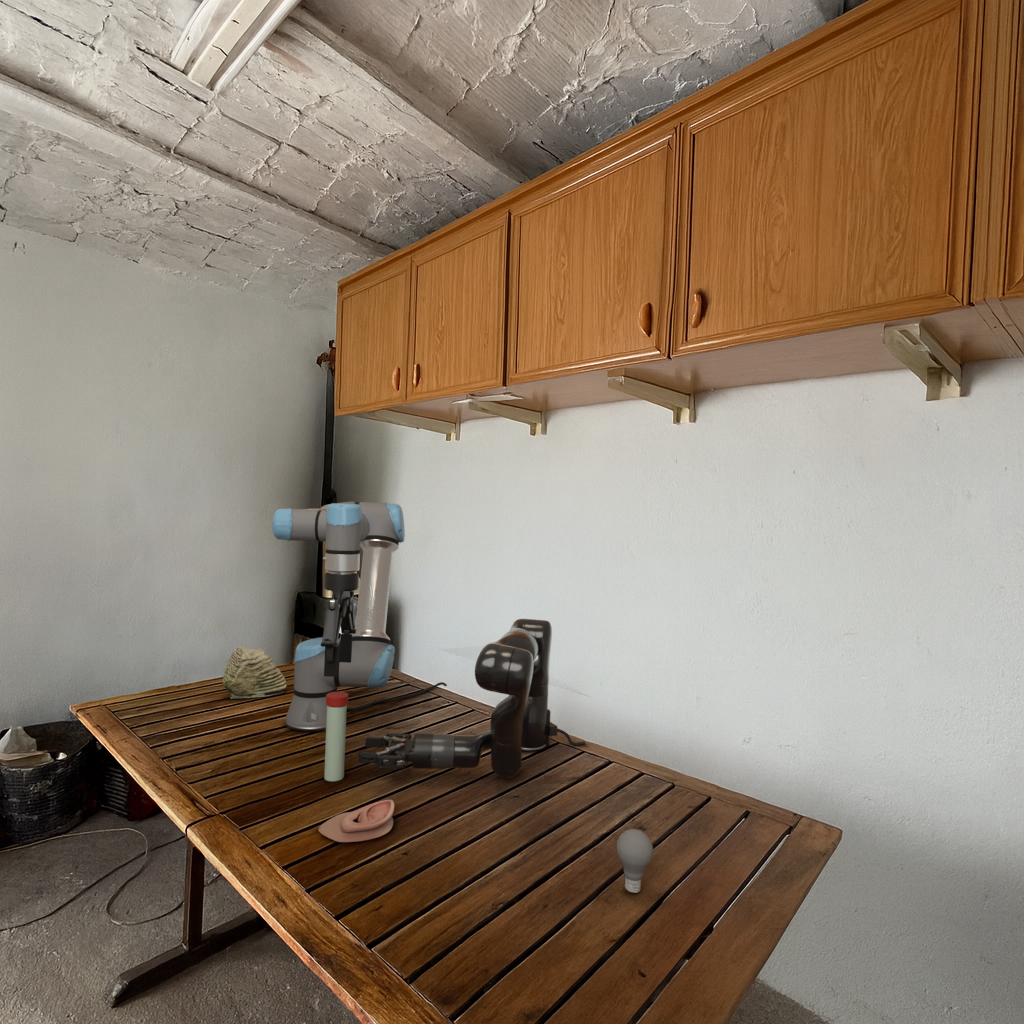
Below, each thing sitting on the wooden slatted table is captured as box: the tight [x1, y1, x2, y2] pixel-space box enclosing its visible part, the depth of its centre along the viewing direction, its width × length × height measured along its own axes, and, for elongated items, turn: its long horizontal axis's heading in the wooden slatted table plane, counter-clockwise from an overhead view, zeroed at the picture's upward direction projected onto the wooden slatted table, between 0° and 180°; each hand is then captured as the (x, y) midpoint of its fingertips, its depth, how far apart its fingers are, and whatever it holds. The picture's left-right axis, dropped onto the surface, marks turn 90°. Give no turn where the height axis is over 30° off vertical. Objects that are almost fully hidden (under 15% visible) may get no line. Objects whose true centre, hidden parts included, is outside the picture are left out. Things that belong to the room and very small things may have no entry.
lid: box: [326, 691, 349, 707], centre depth 143 cm, size 5×5×2 cm
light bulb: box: [615, 828, 654, 894], centre depth 106 cm, size 6×6×10 cm
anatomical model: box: [317, 799, 395, 843], centre depth 122 cm, size 13×4×12 cm
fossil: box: [222, 646, 288, 699], centre depth 198 cm, size 9×18×15 cm, turn 132°
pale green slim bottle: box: [323, 704, 348, 782], centre depth 143 cm, size 4×4×18 cm
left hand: (338, 668), depth 143 cm, fingers open, 11 cm apart
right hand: (362, 749), depth 143 cm, fingers open, 8 cm apart
